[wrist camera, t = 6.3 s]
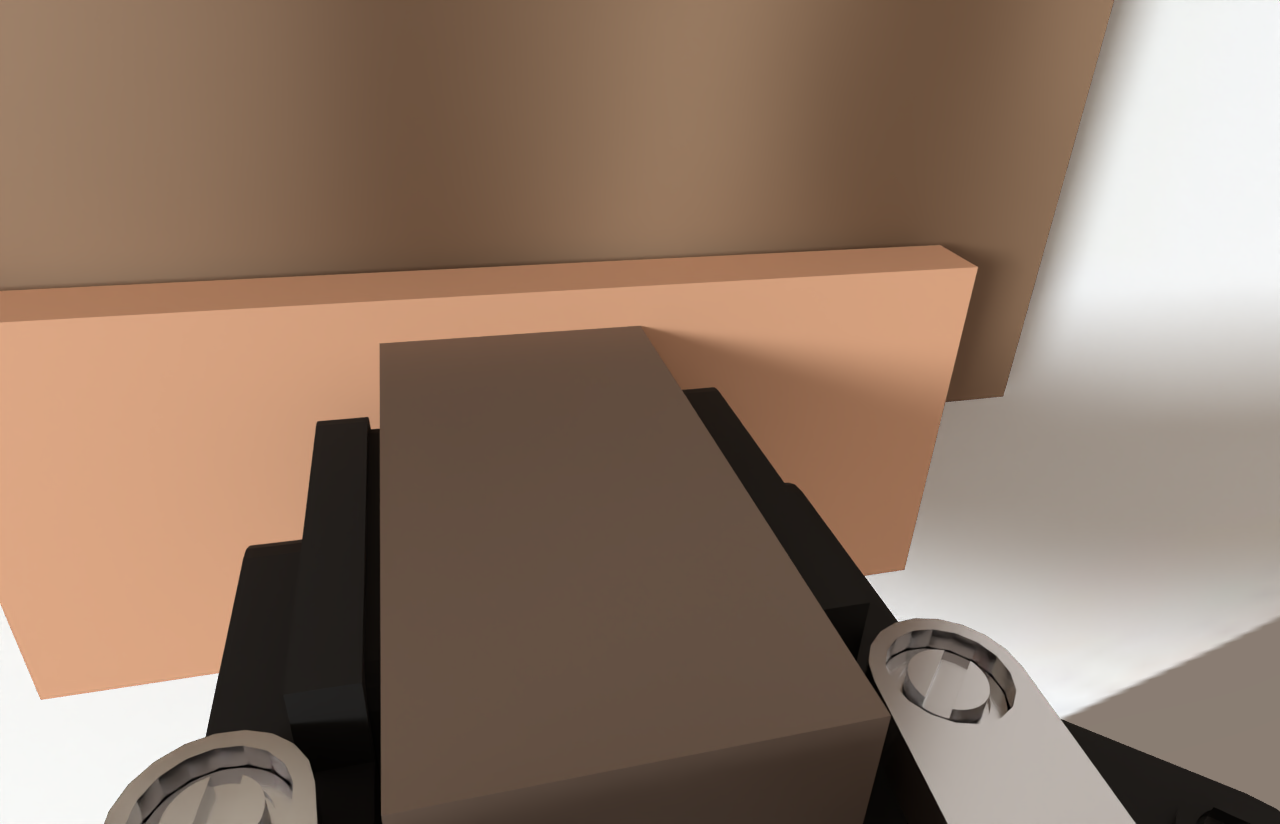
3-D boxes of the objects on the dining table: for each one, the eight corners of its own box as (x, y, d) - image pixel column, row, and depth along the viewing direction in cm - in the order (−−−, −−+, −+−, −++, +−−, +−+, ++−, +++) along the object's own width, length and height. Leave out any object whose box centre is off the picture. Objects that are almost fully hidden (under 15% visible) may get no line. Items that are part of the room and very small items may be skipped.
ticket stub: (939, 244, 12) (1471, 554, 6) (876, 535, 14) (1213, 953, 9) (-74, 294, 9) (-892, 977, 3) (63, 647, 11) (-260, 1398, 6)
